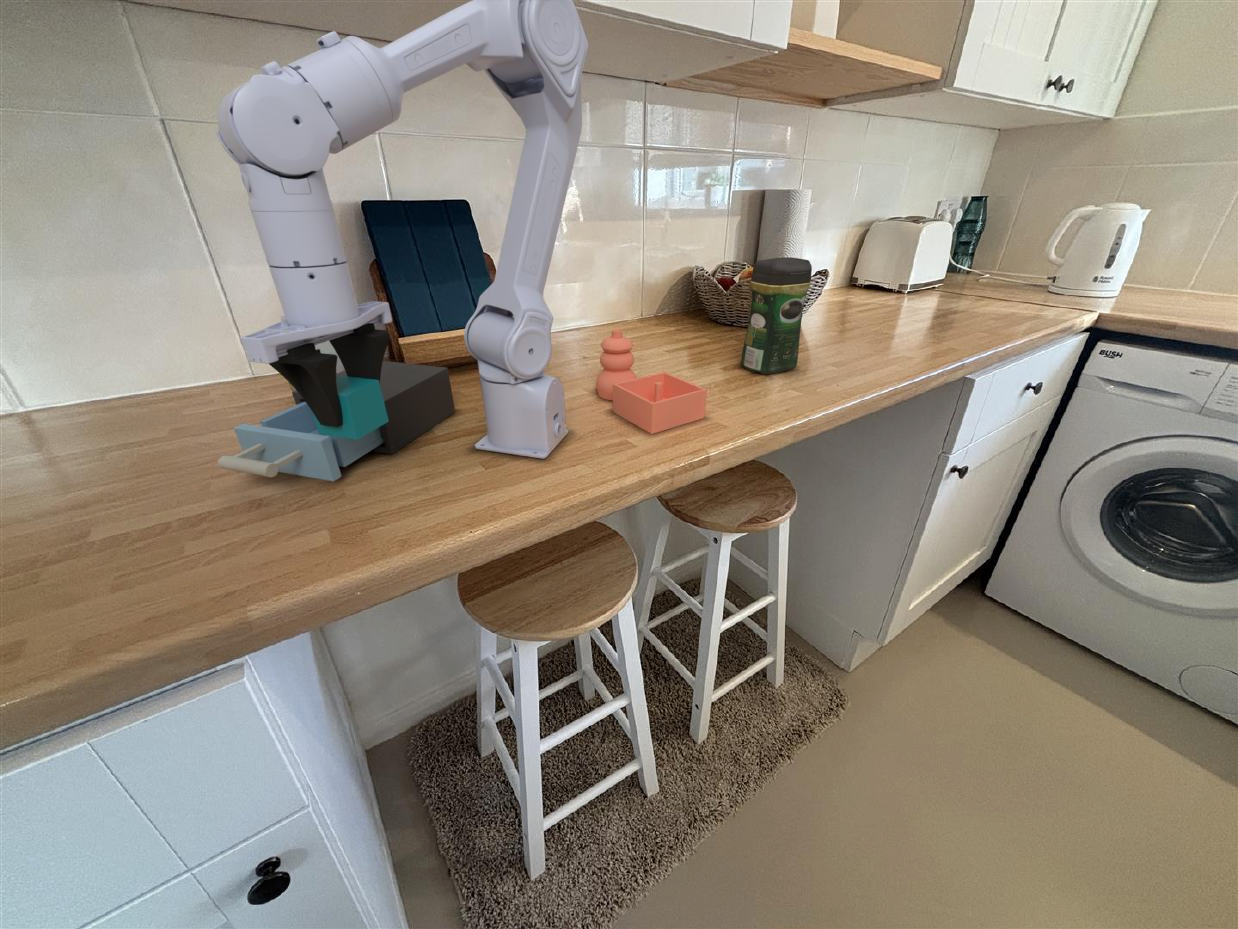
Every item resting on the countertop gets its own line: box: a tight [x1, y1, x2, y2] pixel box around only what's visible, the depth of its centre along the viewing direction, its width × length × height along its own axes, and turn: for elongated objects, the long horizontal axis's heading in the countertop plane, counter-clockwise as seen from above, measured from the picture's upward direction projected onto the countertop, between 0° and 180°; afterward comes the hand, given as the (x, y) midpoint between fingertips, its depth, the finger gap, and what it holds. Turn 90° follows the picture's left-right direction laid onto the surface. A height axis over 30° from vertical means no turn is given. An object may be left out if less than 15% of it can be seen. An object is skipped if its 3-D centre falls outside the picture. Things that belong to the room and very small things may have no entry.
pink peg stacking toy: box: [595, 329, 708, 435], centre depth 71 cm, size 18×10×10 cm, turn 35°
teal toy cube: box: [312, 376, 389, 440], centre depth 47 cm, size 4×4×4 cm
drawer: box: [217, 401, 384, 482], centre depth 55 cm, size 17×11×5 cm
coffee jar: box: [740, 256, 813, 375], centre depth 85 cm, size 10×8×19 cm
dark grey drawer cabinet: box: [291, 360, 456, 455], centre depth 65 cm, size 14×13×7 cm
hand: (351, 414), depth 48 cm, fingers closed on teal toy cube, 4 cm apart
